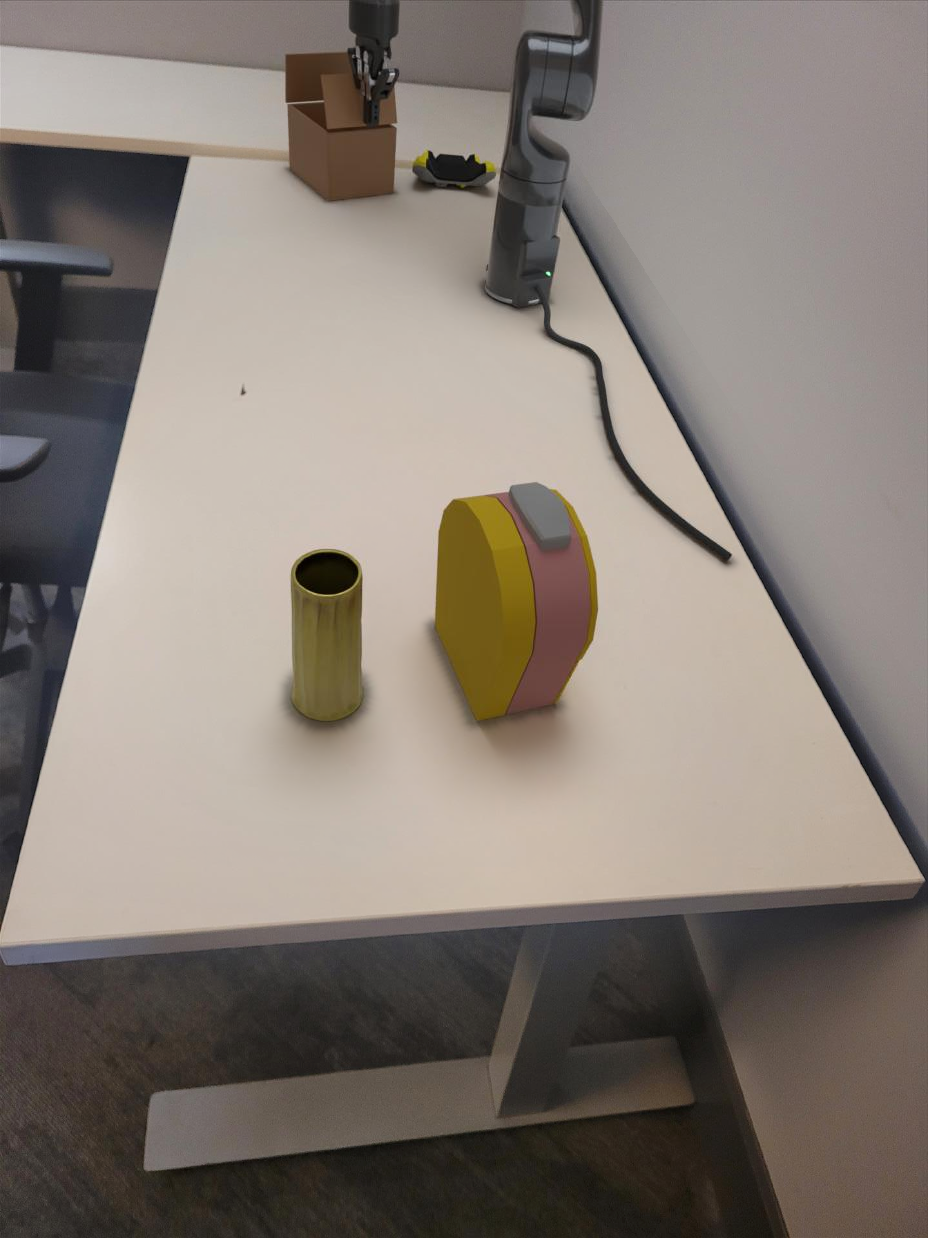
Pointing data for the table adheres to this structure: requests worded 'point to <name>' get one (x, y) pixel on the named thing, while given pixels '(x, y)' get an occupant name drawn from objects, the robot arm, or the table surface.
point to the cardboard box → (333, 135)
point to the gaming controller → (453, 169)
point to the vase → (326, 634)
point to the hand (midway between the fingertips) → (370, 124)
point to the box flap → (351, 103)
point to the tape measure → (514, 597)
